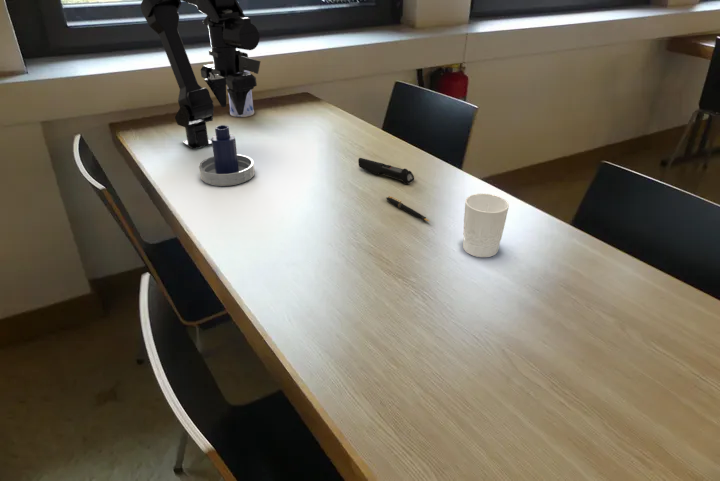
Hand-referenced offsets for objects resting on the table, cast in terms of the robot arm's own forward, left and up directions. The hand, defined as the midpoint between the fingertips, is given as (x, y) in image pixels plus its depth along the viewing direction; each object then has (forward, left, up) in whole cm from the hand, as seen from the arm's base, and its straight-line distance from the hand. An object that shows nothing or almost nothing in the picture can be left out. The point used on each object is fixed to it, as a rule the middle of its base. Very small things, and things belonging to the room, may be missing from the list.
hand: (232, 110), depth 134 cm
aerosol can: (-34, +21, -13) cm, 42 cm away
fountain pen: (+50, +13, -13) cm, 53 cm away
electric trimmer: (+33, +23, -13) cm, 42 cm away
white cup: (+70, +13, -13) cm, 72 cm away
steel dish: (+8, -7, -13) cm, 17 cm away
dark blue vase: (+8, -7, -13) cm, 17 cm away
